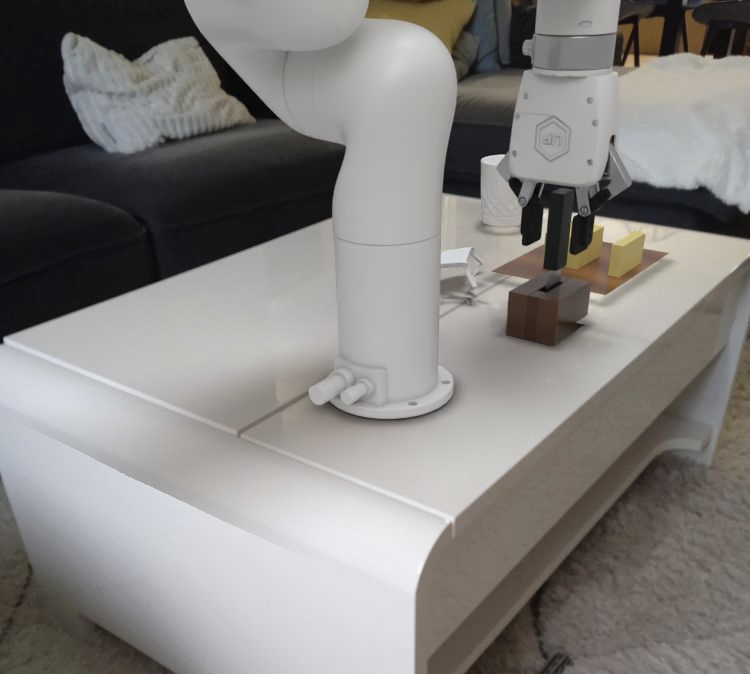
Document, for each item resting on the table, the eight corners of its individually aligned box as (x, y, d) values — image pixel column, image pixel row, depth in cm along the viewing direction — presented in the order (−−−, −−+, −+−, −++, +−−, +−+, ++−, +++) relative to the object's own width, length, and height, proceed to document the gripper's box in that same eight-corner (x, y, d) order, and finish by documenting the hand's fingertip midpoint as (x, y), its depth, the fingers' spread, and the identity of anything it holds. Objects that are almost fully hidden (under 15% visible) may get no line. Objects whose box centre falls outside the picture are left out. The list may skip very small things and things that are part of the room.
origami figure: (465, 314, 98) (467, 274, 95) (403, 304, 101) (402, 264, 98) (502, 284, 107) (505, 246, 104) (443, 275, 110) (444, 238, 107)
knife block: (553, 346, 89) (558, 302, 87) (505, 334, 92) (508, 291, 90) (586, 324, 94) (591, 281, 92) (539, 313, 98) (543, 271, 95)
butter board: (604, 304, 100) (605, 294, 99) (490, 280, 108) (491, 270, 107) (667, 261, 113) (669, 252, 112) (561, 242, 121) (562, 234, 120)
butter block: (577, 270, 107) (580, 238, 105) (542, 263, 109) (545, 232, 107) (600, 256, 111) (604, 226, 109) (566, 250, 114) (569, 220, 112)
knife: (548, 333, 92) (562, 195, 84) (536, 330, 93) (548, 193, 85) (561, 325, 94) (576, 189, 86) (548, 322, 95) (562, 187, 87)
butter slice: (618, 277, 104) (623, 246, 102) (607, 275, 105) (611, 244, 102) (641, 263, 108) (645, 232, 106) (630, 261, 109) (634, 231, 107)
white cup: (527, 221, 131) (532, 154, 125) (530, 235, 124) (536, 165, 119) (477, 221, 132) (480, 154, 126) (477, 235, 125) (481, 165, 120)
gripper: (475, 55, 80) (468, 243, 90) (643, 63, 71) (614, 270, 81) (514, 48, 85) (503, 227, 95) (675, 55, 76) (644, 251, 86)
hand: (554, 245), depth 88 cm, fingers open, 4 cm apart
